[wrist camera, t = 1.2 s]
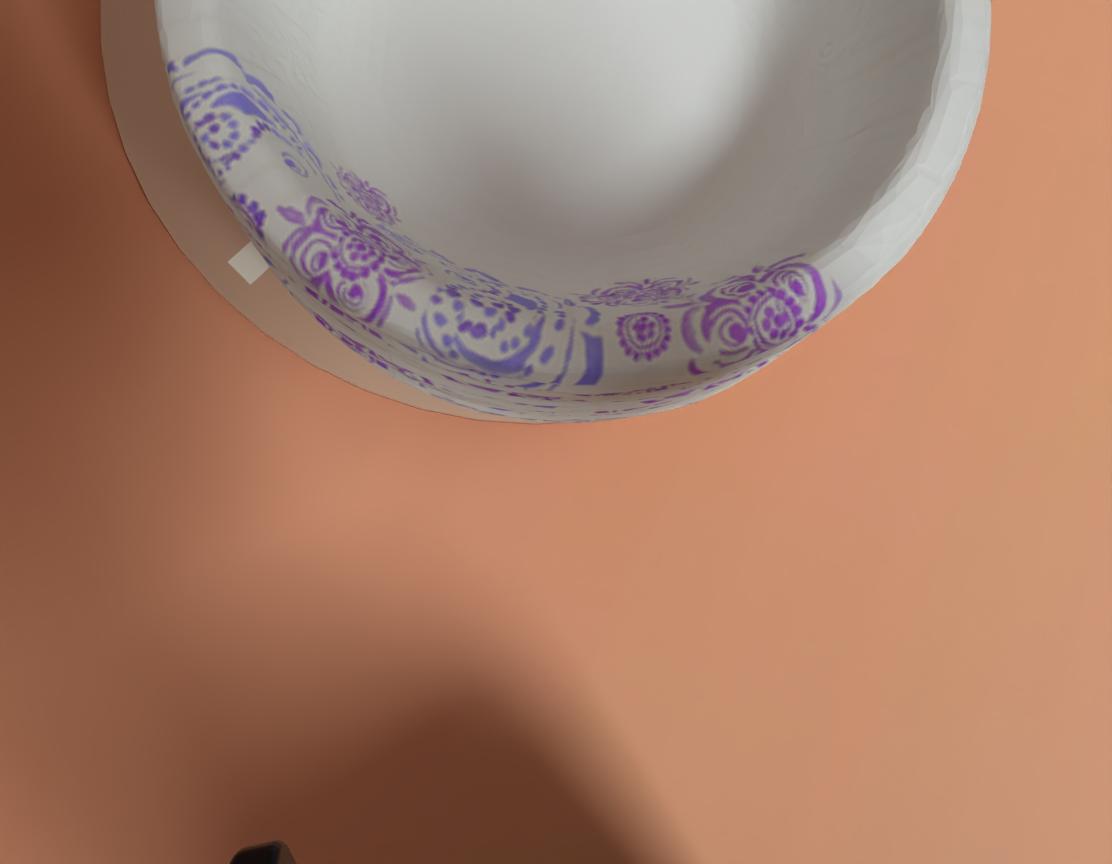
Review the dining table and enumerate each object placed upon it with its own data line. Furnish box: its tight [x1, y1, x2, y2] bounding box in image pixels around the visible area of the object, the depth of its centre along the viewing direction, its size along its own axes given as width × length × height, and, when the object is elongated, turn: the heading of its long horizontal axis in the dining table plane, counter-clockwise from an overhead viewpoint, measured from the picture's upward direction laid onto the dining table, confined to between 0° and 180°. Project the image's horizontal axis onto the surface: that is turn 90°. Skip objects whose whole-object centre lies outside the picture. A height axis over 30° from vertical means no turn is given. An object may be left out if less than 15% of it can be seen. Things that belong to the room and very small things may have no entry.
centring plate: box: [100, 0, 561, 424], centre depth 25 cm, size 22×22×1 cm
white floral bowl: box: [154, 0, 991, 423], centre depth 20 cm, size 15×15×8 cm
